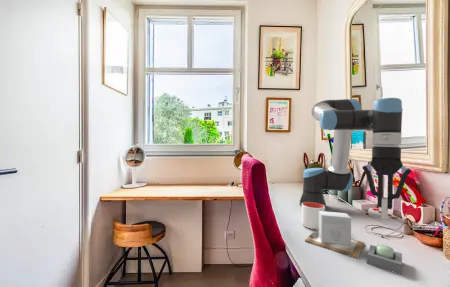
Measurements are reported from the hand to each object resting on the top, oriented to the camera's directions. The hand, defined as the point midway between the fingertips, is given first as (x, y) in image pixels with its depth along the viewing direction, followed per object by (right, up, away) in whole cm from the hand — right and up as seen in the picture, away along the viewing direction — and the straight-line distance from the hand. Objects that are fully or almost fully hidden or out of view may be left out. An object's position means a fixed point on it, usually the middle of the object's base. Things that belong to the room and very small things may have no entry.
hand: (384, 217), depth 70 cm
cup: (-11, -15, +30) cm, 35 cm away
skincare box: (-10, -14, +14) cm, 22 cm away
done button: (0, -13, 0) cm, 13 cm away
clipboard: (-9, -14, +14) cm, 22 cm away
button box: (0, -15, 0) cm, 15 cm away
